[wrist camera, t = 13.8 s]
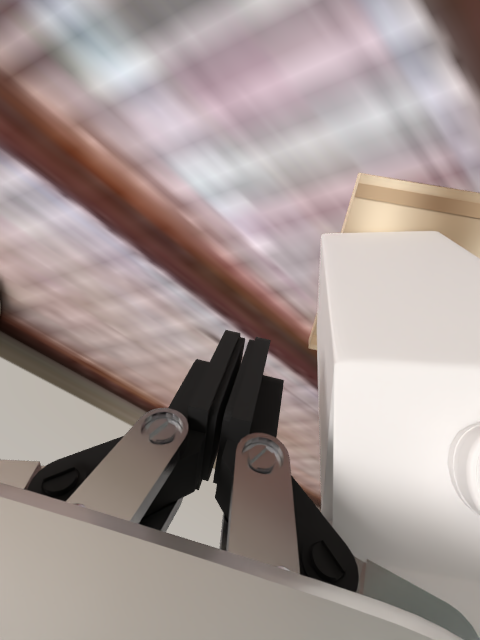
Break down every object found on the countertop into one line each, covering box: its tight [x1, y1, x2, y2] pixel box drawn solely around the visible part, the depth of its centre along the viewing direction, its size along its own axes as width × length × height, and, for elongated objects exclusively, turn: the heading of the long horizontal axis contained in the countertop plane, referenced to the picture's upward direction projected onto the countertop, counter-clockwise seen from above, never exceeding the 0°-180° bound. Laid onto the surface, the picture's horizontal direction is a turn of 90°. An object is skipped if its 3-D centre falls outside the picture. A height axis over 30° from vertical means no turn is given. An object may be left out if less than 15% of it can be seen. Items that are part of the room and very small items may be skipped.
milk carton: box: [317, 231, 480, 638], centre depth 14 cm, size 7×7×19 cm
